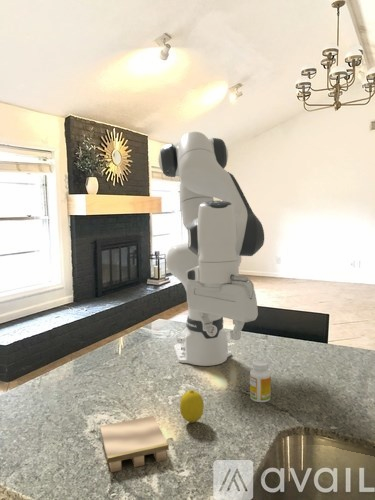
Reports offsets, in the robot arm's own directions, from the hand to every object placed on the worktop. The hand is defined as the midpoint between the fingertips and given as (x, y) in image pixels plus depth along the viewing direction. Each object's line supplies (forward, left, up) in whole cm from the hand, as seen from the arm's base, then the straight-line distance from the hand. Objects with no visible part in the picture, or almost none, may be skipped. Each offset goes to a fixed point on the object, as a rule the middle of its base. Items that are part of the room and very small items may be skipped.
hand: (221, 334), depth 88 cm
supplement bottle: (-9, +15, -22) cm, 28 cm away
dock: (+1, -21, -22) cm, 30 cm away
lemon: (-4, -6, -22) cm, 23 cm away
